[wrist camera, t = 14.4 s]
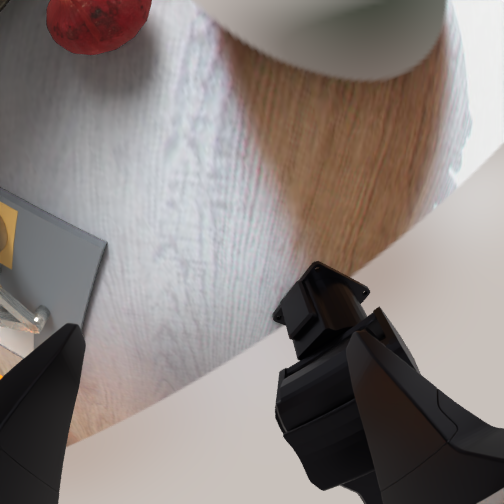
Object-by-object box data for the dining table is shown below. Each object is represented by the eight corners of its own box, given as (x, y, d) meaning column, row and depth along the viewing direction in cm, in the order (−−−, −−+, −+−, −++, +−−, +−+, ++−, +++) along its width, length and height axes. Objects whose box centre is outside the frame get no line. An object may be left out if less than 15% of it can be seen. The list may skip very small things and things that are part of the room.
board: (106, 242, 21) (102, 249, 20) (72, 375, 29) (70, 382, 28) (-21, 175, 16) (-29, 179, 15) (-20, 325, 24) (-24, 330, 23)
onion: (179, 25, 14) (151, -15, 7) (103, 76, 15) (37, 74, 8) (139, -31, 11) (98, -83, 4) (68, 19, 12) (-1, -1, 5)
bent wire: (52, 294, 22) (41, 312, 19) (48, 334, 24) (39, 352, 22) (-9, 258, 19) (-23, 274, 17) (-8, 302, 22) (-19, 317, 19)
